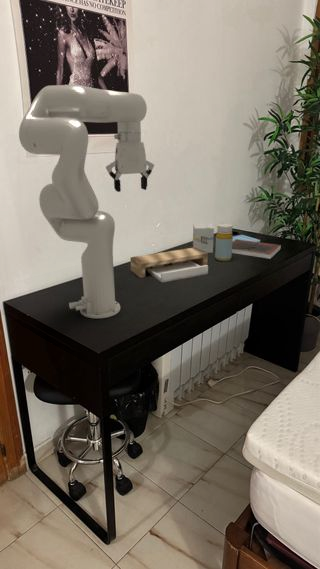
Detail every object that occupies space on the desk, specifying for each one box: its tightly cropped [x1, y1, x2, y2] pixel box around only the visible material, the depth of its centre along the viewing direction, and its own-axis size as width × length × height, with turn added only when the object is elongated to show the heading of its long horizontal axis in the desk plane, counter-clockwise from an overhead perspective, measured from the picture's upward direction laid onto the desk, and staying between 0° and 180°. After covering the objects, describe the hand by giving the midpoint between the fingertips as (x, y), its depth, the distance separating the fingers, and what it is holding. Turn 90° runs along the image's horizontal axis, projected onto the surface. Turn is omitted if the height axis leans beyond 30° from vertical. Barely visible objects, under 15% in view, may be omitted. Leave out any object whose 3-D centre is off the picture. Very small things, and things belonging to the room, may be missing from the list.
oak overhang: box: [130, 247, 209, 279], centre depth 166 cm, size 30×10×6 cm, turn 116°
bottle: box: [214, 222, 233, 262], centre depth 175 cm, size 7×7×15 cm
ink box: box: [192, 223, 215, 254], centre depth 187 cm, size 9×9×12 cm
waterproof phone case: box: [232, 234, 261, 242], centre depth 205 cm, size 14×12×1 cm
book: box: [232, 239, 282, 260], centre depth 189 cm, size 16×2×22 cm
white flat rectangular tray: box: [145, 260, 209, 284], centre depth 161 cm, size 20×14×4 cm
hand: (131, 190), depth 143 cm, fingers open, 9 cm apart
